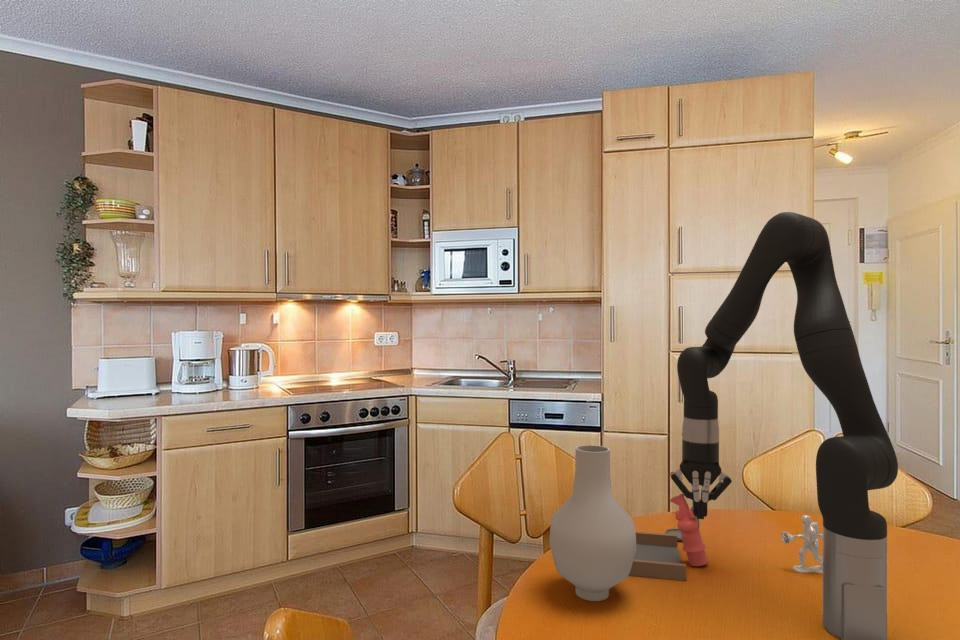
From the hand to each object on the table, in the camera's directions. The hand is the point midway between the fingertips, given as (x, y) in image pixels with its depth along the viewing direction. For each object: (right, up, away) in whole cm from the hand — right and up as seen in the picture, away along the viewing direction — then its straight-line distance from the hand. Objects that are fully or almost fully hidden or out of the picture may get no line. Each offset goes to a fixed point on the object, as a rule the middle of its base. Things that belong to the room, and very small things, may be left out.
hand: (700, 517), depth 127 cm
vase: (-26, -10, -14) cm, 31 cm away
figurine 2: (0, -10, 0) cm, 10 cm away
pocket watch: (+2, -10, +16) cm, 19 cm away
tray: (-12, -10, +3) cm, 16 cm away
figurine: (+21, -10, -3) cm, 24 cm away
